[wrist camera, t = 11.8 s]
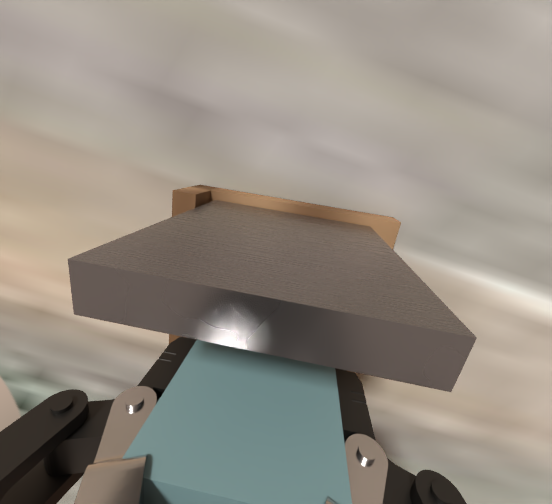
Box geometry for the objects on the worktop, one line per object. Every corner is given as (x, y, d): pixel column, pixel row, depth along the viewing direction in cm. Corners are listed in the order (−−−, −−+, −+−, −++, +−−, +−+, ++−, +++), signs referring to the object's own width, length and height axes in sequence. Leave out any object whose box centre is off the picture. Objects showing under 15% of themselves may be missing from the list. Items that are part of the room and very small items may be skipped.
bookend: (370, 226, 13) (476, 337, 5) (364, 250, 13) (451, 392, 5) (215, 199, 13) (67, 258, 5) (213, 224, 13) (73, 314, 5)
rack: (393, 217, 14) (587, 345, 4) (326, 442, 19) (343, 726, 9) (199, 184, 14) (-20, 230, 5) (187, 411, 19) (71, 648, 10)
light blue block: (329, 322, 13) (355, 528, 6) (317, 369, 14) (325, 599, 7) (221, 300, 14) (114, 470, 6) (216, 349, 15) (119, 546, 7)
